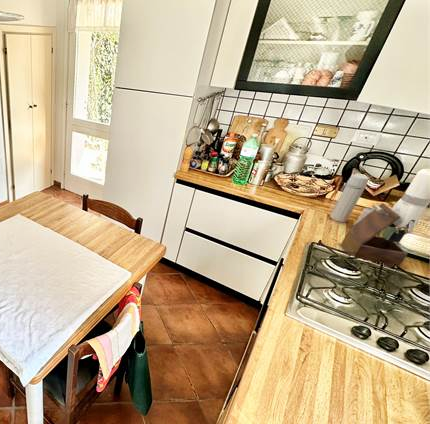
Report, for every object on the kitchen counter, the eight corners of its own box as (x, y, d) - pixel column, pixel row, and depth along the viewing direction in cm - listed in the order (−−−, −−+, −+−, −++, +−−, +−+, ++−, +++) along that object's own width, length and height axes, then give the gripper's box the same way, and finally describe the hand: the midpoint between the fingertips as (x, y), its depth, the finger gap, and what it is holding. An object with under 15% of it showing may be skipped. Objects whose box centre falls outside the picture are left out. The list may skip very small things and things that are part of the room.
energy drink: (365, 229, 157) (377, 209, 151) (367, 234, 153) (380, 213, 147) (351, 226, 159) (363, 206, 154) (353, 231, 155) (365, 210, 150)
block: (380, 234, 133) (386, 226, 131) (393, 236, 131) (399, 228, 129) (386, 239, 129) (392, 231, 127) (399, 242, 128) (405, 233, 126)
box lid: (384, 203, 131) (373, 197, 131) (401, 217, 120) (388, 210, 121) (349, 230, 140) (339, 225, 140) (362, 245, 130) (351, 239, 130)
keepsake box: (382, 252, 139) (391, 238, 135) (397, 269, 129) (408, 254, 125) (340, 245, 144) (348, 231, 140) (351, 260, 134) (360, 245, 130)
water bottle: (346, 219, 166) (370, 176, 154) (345, 224, 161) (370, 180, 149) (325, 213, 172) (347, 171, 160) (324, 218, 167) (345, 175, 155)
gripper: (392, 190, 129) (369, 226, 138) (416, 207, 116) (389, 246, 124) (415, 193, 127) (390, 230, 136) (442, 210, 113) (413, 250, 122)
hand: (390, 237), depth 130 cm, fingers closed on block, 4 cm apart
